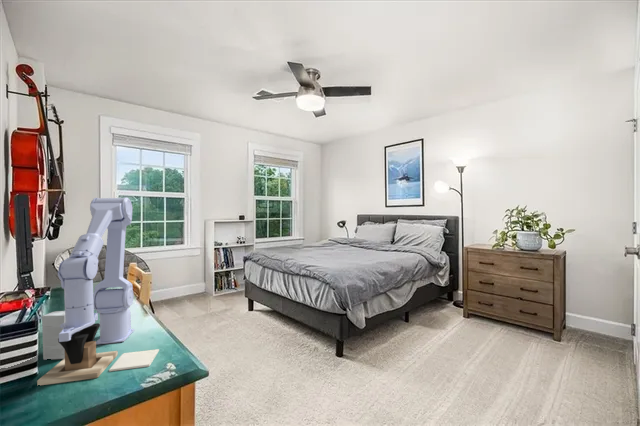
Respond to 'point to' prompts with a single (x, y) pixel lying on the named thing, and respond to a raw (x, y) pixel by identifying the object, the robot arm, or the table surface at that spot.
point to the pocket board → (61, 375)
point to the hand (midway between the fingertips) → (81, 358)
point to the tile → (134, 360)
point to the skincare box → (52, 335)
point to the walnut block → (87, 359)
